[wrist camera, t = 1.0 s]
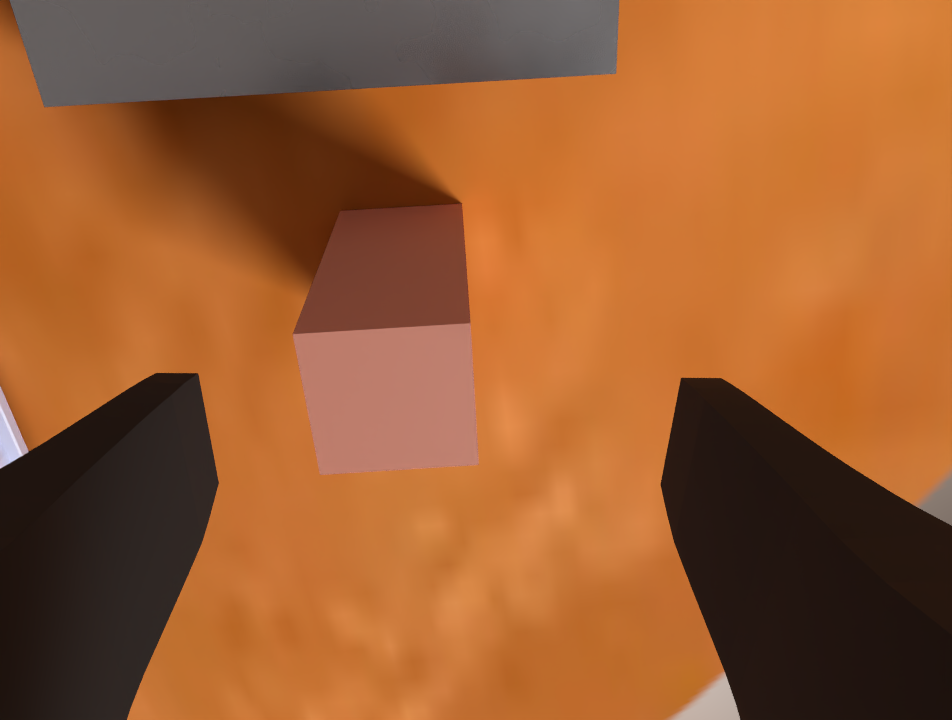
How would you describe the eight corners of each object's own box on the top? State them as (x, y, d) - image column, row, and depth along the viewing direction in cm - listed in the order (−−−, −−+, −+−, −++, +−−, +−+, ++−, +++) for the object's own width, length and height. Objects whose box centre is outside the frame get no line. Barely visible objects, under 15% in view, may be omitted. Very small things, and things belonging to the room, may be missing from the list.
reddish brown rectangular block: (355, 319, 21) (320, 474, 15) (340, 210, 19) (292, 333, 13) (468, 312, 21) (478, 464, 15) (461, 203, 19) (470, 323, 13)
